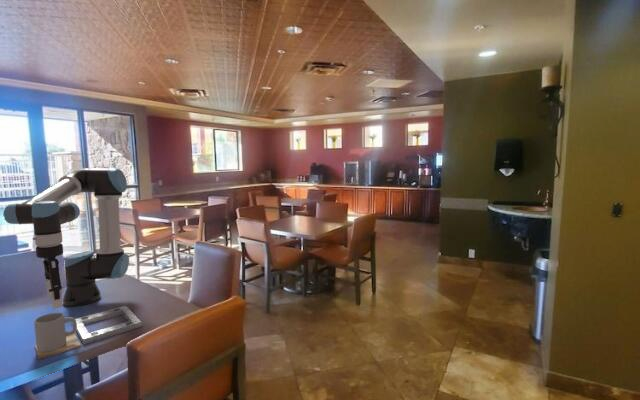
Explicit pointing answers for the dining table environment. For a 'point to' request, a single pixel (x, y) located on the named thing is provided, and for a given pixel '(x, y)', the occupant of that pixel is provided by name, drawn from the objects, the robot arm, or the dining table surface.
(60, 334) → the mug
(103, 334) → the grey square frame
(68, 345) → the coaster
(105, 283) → the dining table surface
